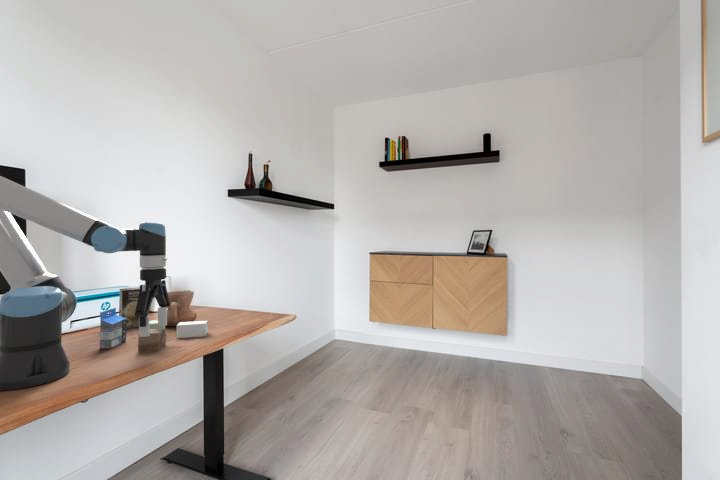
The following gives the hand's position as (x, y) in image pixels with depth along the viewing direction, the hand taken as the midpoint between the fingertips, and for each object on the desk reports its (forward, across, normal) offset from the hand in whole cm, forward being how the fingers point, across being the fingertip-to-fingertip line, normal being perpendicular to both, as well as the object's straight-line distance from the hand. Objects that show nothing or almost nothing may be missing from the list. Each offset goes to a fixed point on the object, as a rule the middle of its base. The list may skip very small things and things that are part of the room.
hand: (154, 330), depth 112 cm
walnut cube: (+6, 0, 0) cm, 6 cm away
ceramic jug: (+6, +34, +4) cm, 35 cm away
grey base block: (+6, +15, -8) cm, 18 cm away
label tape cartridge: (+6, +6, +16) cm, 18 cm away
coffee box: (+6, +34, +22) cm, 41 cm away
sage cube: (+6, +14, +6) cm, 16 cm away
